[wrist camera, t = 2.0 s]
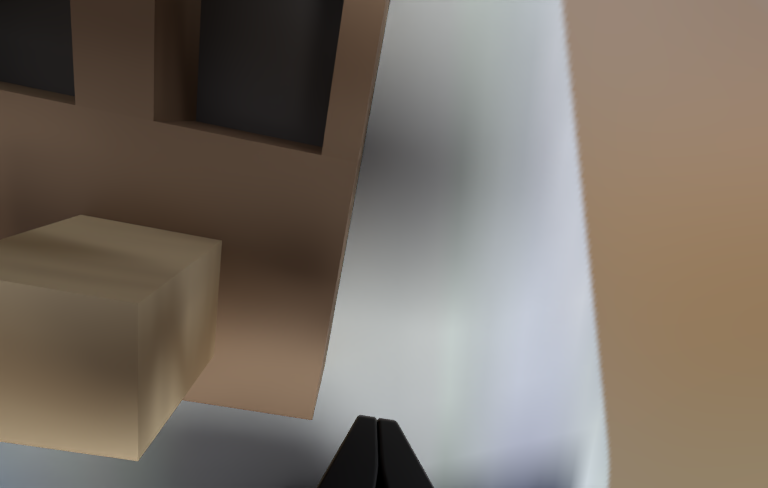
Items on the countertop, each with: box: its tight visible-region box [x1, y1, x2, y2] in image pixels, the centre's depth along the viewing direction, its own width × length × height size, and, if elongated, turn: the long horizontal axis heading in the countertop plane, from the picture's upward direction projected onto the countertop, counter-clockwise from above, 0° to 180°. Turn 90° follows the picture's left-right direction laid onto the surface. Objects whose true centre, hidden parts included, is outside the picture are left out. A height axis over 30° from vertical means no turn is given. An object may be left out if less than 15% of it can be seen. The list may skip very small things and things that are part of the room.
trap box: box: [0, 0, 390, 420], centre depth 10 cm, size 15×18×6 cm
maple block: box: [0, 215, 222, 461], centre depth 10 cm, size 4×4×4 cm
